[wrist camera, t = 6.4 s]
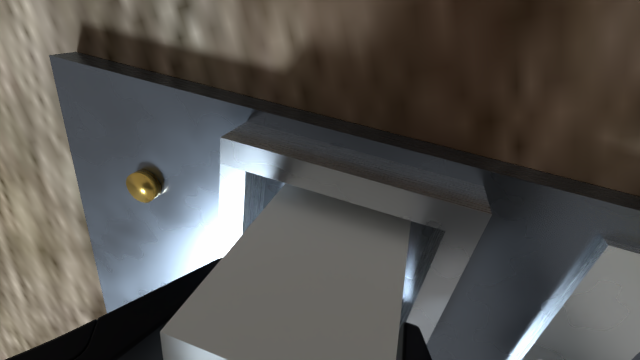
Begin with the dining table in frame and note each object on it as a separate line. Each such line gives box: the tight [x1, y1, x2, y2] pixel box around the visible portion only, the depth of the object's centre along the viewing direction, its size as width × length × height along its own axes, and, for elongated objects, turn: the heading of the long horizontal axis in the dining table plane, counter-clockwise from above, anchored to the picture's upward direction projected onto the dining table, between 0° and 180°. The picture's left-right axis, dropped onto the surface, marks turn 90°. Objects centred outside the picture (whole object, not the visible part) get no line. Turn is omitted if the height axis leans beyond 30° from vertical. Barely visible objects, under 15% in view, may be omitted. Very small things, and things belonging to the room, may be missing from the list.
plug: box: [160, 183, 411, 360], centre depth 9 cm, size 4×4×7 cm
